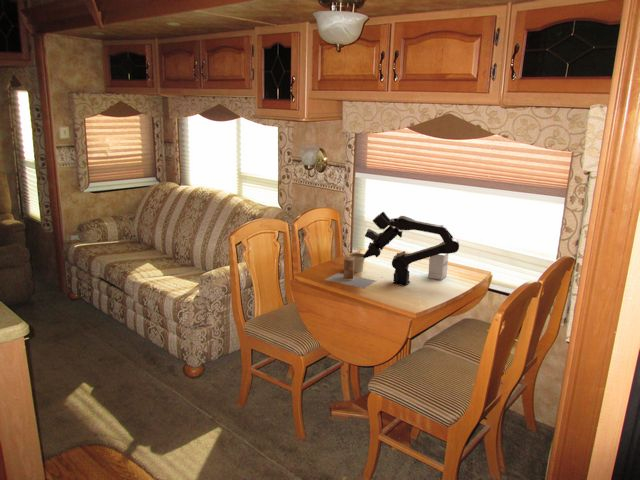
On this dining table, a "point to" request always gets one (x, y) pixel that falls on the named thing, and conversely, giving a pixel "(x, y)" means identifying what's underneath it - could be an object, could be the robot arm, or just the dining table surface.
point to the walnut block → (349, 268)
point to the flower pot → (357, 261)
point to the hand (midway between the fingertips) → (363, 257)
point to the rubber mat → (355, 282)
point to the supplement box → (438, 266)
